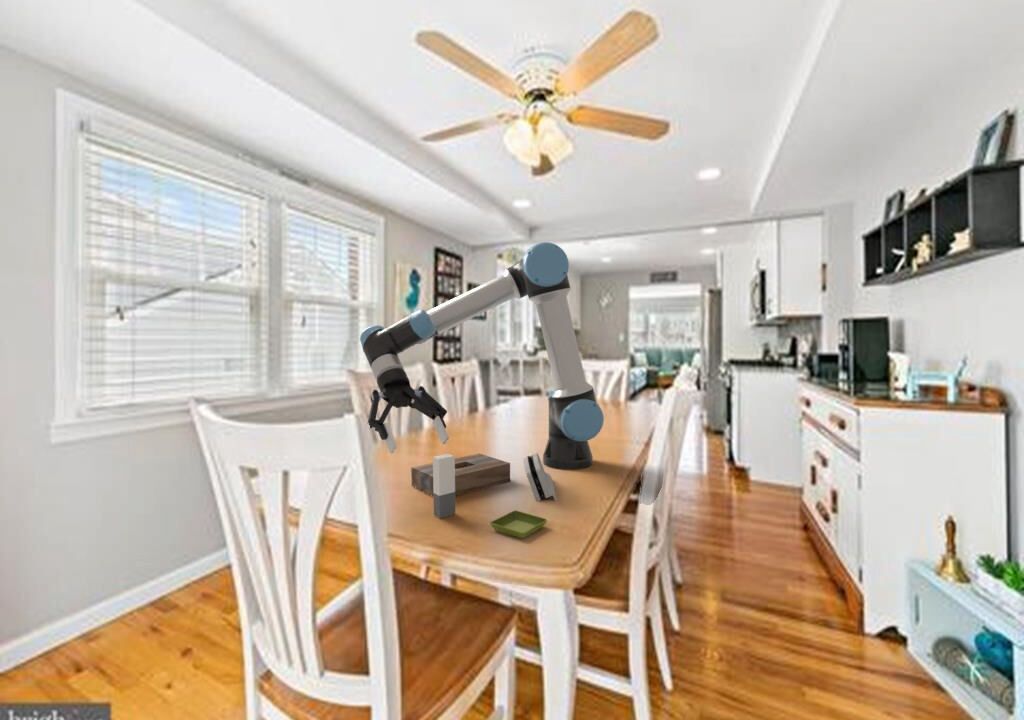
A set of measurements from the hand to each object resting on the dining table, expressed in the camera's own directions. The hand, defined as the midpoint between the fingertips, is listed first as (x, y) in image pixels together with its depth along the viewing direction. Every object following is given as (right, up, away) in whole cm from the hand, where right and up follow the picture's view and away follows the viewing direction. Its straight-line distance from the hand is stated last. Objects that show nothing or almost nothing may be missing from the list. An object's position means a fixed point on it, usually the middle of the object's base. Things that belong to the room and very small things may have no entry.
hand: (420, 445), depth 111 cm
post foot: (+8, -13, +16) cm, 22 cm away
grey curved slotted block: (+28, -14, +11) cm, 33 cm away
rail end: (+6, -14, -6) cm, 17 cm away
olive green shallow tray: (+23, -15, -14) cm, 30 cm away
